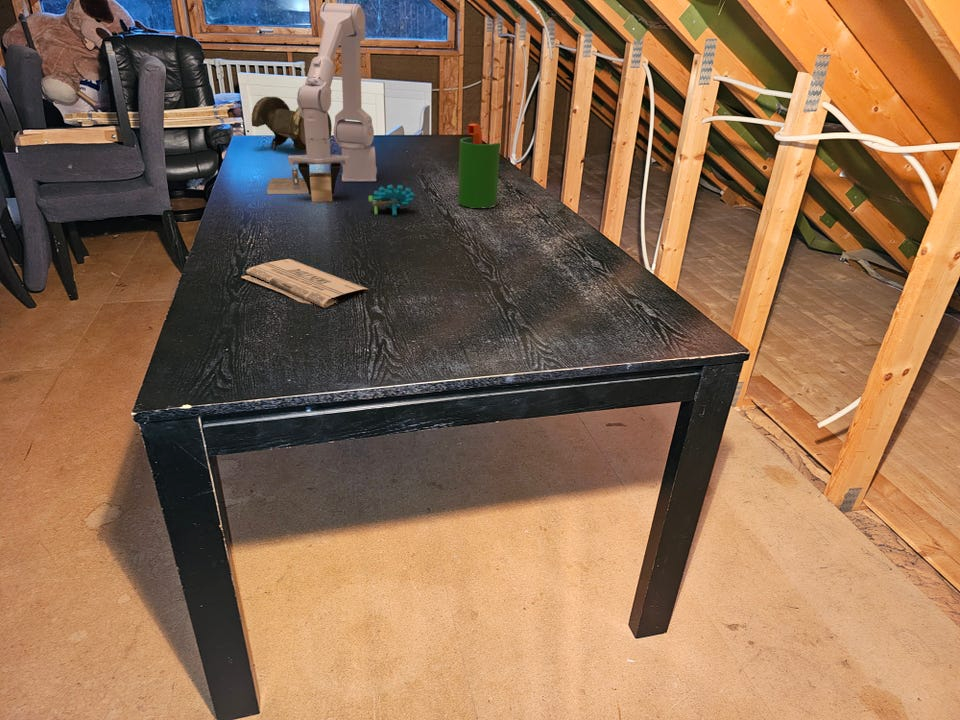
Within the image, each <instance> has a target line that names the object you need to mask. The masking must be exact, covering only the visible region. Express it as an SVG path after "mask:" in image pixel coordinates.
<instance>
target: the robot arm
mask: <svg viewBox="0 0 960 720" xmlns="http://www.w3.org/2000/svg"><path fill="white" fill-rule="evenodd" d="M319 21H320V26H321V29H322V32H321V37H320V38H321V39H320V42H319V43H320V44H319V50H318V53H317V54H318V55H317V56H315V57H313V58H312V59H311V62H310V66H309V69H308V72H307V75H306V76H307V77H306V80H305V83H304V84H303V85H302V86H299V88H298V89H297V90H298V91H297V95H296V97H297V98H296V103H297V105H298V107H299V108H300V111H301V116H302V118H304V129H305V140H306V150H307V151H306V155H305V154H298V155H297V154H295V155H288V165H289V166H294V165H297V167H298V168H297V169H298V172H299V173H300V175H301V176H302V178H304V180H305V183H306V185H307V188H308V192H309V194H308V195H311V185H310V173H311V171H310V165H330V173H331V184H332V187H331V190H332V195H336V191H335V190H336V184H337V180H338V177H339V173H340V172H341V169H342V173H341V182H345V183H346V182H347V183H348V182H377V174H378V167H377V166H376V165H377V164H376V163H377V162H376V161H377V160H376V149H375V148H376V147H375V146H371V145H372V144H373V141H374V138H375V137H374V136H375V135H374V134H375V132H374V127H373V119H372V117H371V115H369V114H368V113H367V112H366V111H365V110H364V109H363V107H362V71H361V70H362V68H361V67H362V63H361V62H362V61H361V60H362V58H361V42H362V41H364V40H366V14H365V12H364V10H363V7H362V6H361V5H360V3H338V2H335V3H334V2H328V1H325V2H323V3H322V4H321V6H320V10H319ZM339 46H340V51H341V82H342V86H341V87H342V88H341V89H342V109H341V110H340V111H338V112H337V113H336V115H334V125H333V129H332V130H333V132H332V133H333V138H334V140H335V141H336V143H338V146H339V147H341V154H331V145H330V144H331V143H330V140H329V128H328V114H329V113H328V114H327V112H328V111H329V110H330V108H331V105H332V88H331V86H332V83H333V79H334V75H335V73H336V66H335V64H334V63H333V61H334V59H335V57H336V54H337V51H338V49H339ZM341 166H342V167H341Z"/></svg>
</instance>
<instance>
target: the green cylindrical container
mask: <svg viewBox="0 0 960 720" xmlns="http://www.w3.org/2000/svg"><path fill="white" fill-rule="evenodd" d="M467 134H468V135H471V136H472V137H471V136H469V137H463V138H460V139H459V156H458V157H459V160H458V189H457V190H458V194H457V197H458V198H457V204H458V203H459V204H461V205H463V206H466V207H474V208H482V207H490V206H493V205H495V204H497V205H498V188H499V187H498V186H499V171H500V154H501V153H500V151H501V142H494V143H491V144H490V143H489V144H485V143H483V133H482V127H481V124H479V123H469V124H468V125H467ZM459 204H458V205H459ZM461 205H460V206H461ZM463 206H462V207H463ZM466 207H465V208H466Z"/></svg>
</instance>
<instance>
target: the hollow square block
mask: <svg viewBox="0 0 960 720" xmlns="http://www.w3.org/2000/svg"><path fill="white" fill-rule="evenodd" d="M310 185H311V194H310V195H311V197H310V198H311V202H313V203H315V202H316V203H317V202H320V203H321V202H333V194H332V190H331V187H332V181H331V172H310Z"/></svg>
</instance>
